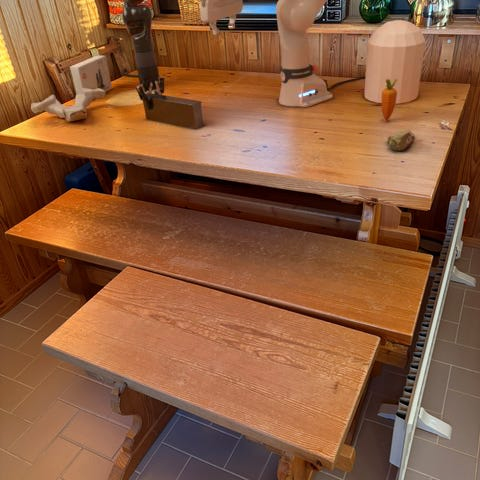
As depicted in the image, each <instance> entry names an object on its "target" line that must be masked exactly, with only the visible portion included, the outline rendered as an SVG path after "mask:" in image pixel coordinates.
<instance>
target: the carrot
mask: <svg viewBox="0 0 480 480" xmlns="http://www.w3.org/2000/svg"><path fill="white" fill-rule="evenodd" d="M396 81H397V79H395V80H394V82H393V84H391V82H390V79H386V83H387V85H386V87H387V88H386V89H384V90H383V91H382V98H381V103H380V104H381V112H382V113H381V114H382V117H383V119H384V120H385V121H386V122H388V121H389V119H390V118H391V117H392V114H393V112H394V109H395V106H396V104H395V102H396V95H397V91H396V90H395V89H394V88H393V86H394V84H395V83H396ZM389 85H390V86H389ZM391 85H392V86H391Z"/></svg>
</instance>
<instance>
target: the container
mask: <svg viewBox="0 0 480 480" xmlns="http://www.w3.org/2000/svg"><path fill="white" fill-rule="evenodd" d="M366 44H367V45H366V58H365V78H364V91H363V95H364V98H365V99H366V100H368V101H370V102H373V103H377V104H381V98H382V91H383V90H384V89H386V88H387V87H386V85H387V83H386V79H390V82H391V84H393V82H394V80H395V79H397V81H396V83H395V84H394V86H393V88H394V89H395V90H396V91H397V95H396V102H395V105H396V104H404V103H410V102H412V101H415V100H416V99H417V98H418V96H419V90H420V84H421V83H420V82H421V76H422V68H423V62H424V55H425V54H424V53H425V46H426V38H425V36H424V34H423V32H422V30H421V28H420V27H419V26H417V25H416V24H414V23H413V22H411V21H408V20H404V19H403V20H402V19H395V20H390V21H386V22H385V23H383V24H382V25H381V26H379V27H377V28H376V29H374V31H373V32H372V34H371V35H370V37H369V38H368V40H367V43H366ZM389 86H390V85H389ZM391 86H392V85H391Z"/></svg>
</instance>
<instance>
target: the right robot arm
mask: <svg viewBox="0 0 480 480" xmlns="http://www.w3.org/2000/svg"><path fill="white" fill-rule="evenodd" d="M327 1H328V0H278V1H277V3H276V5H275V14H276V22H277V30H278V37H279V44H280V67H279V68H280V71H279V72H280V73H279V74H280V75H279V76H280V93H279V98H278V100H277V101H278V103H279V104H280V105H282V106H286V107H302V108H308V107H311V106H314V105H317V104H320V103H323V102H325V101H328V100H331V99H333V97H334V96H333V94H332V93H331V92H330V90H332V89H333V88H334V87H336V86H338V85H341V84H344V83H349V82H352V81H353V82H354V81H358V80H362V79H363V80H364V79H365V76H360V77H356V78H351V79H347V80H342V81H339V82H336V83H334V84H332V85H331V86H330V87H329V84H328V80H327V79H323V78H320V77H319V76H318V75H317V74H315V73H314V72H318V70H319V66H317V65H315V64H311V63H310V42H309V37H308V32H307V30H309V29H310V28H311V27H312V26H313V24H314V23H315V20H316V17H317V16H318V15H319V13H320V11H322V9H323V7H324V5H325V4H326V3H327ZM199 3H200V4H199V14H200V20H201V22H202V23H207V24H208V25H209V27H210V29H211V30H212V35H213V36H216V35H219V34H220V29H219V28H218V27H217V21H218V20H223V19H225V18H229V23H227V24H228V29H229V30H234V29H235V28H236V24H235V23H236V21H237V15H238V14H241V13H242V12H243V9H244V8H243V7H244V5H243V4H244V3H243V0H200V2H199Z"/></svg>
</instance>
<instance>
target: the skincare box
mask: <svg viewBox="0 0 480 480" xmlns="http://www.w3.org/2000/svg"><path fill="white" fill-rule="evenodd" d="M69 70H70V74H71V78H72V82H73V86H74V90H75V94H76V95H79V94H82V91H81V90H82V88H87V89H94V90H95V89H98V88H99V89H102V90H105V92H106V93H107V92H108V91H110V90H112V89H113V86H112V81H111V76H110V72H109V71H110V70H109V66H108V62H107V57H106V55H100V54H99V55H95V56H92V57H90V58H87V59H85V60H83V61H80V62H78V63H75V64H73V65H71V66H69Z"/></svg>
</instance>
